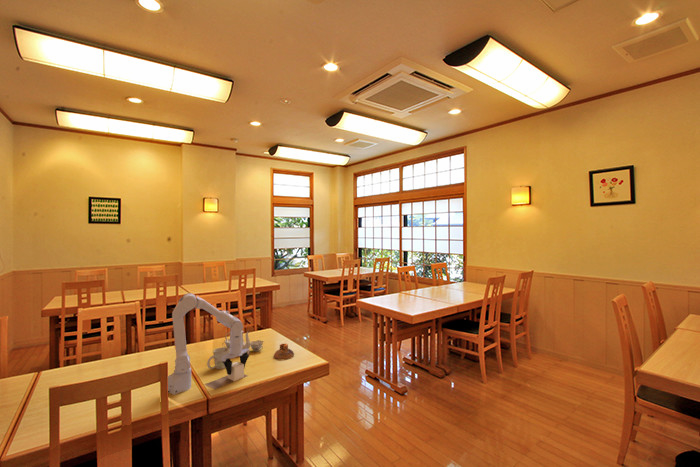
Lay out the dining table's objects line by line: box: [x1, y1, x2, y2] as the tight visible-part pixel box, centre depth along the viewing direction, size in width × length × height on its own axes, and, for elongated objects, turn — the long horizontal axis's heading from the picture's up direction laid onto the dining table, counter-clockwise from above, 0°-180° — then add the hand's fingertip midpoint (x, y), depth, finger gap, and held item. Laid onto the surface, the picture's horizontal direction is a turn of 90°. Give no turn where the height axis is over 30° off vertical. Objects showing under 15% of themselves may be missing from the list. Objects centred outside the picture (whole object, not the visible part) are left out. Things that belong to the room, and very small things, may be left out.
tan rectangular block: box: [227, 361, 245, 382], centre depth 159 cm, size 5×5×7 cm
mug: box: [206, 347, 230, 370], centre depth 171 cm, size 8×13×10 cm, turn 149°
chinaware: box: [222, 329, 265, 352], centre depth 199 cm, size 28×17×17 cm, turn 84°
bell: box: [273, 343, 295, 360], centre depth 191 cm, size 12×12×7 cm
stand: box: [204, 373, 248, 390], centre depth 156 cm, size 18×9×1 cm, turn 145°
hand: (235, 371), depth 159 cm, fingers open, 7 cm apart
